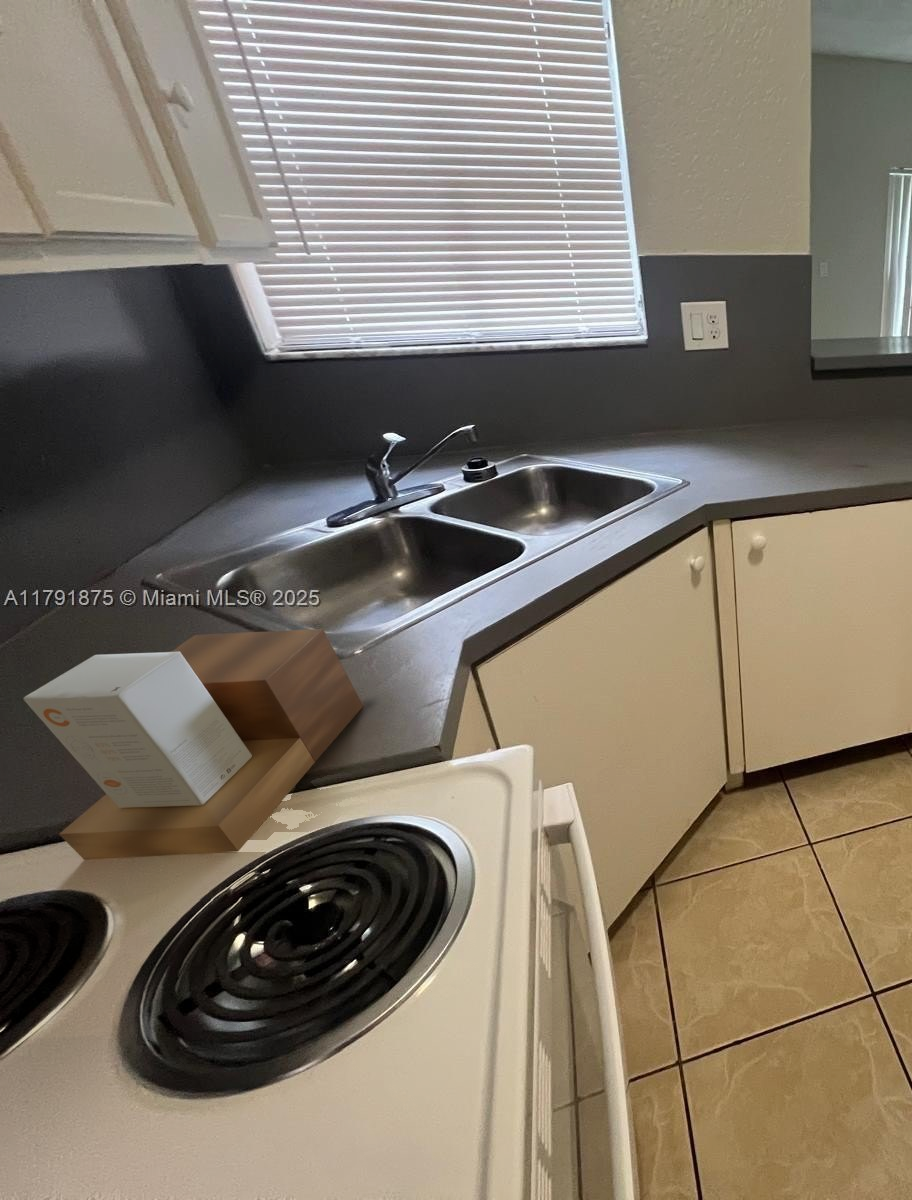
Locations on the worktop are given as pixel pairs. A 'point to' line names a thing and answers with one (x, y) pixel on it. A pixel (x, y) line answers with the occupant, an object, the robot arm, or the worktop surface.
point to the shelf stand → (264, 724)
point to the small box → (142, 728)
